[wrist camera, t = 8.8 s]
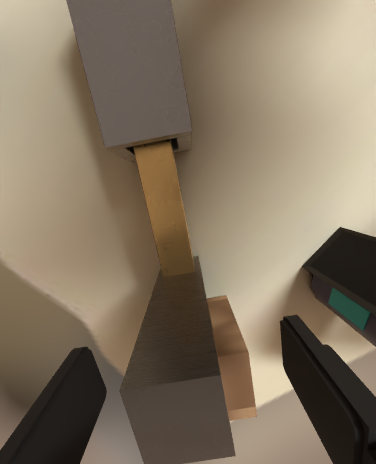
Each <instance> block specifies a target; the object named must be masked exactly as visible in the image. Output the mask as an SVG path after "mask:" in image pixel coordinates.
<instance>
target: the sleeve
mask: <svg viewBox="0 0 376 464" xmlns="http://www.w3.org/2000/svg"><path fill="white" fill-rule="evenodd" d="M67 4H68V8H69V12H70V16H71V20H72V23H73V27H74V31H75V35H76V39H77V42H78V46H79V50H80V54H81V58H82V61H83V65H84V69H85V73H86V77H87V81H88V84H89V88H90V92H91V96H92V100H93V103H94V107H95V111H96V115H97V119H98V123H99V126H100V130H101V134H102V138H103V142H104V145H105V148H107V149H108V150H110V151H112V152H114V153H115V154H117V155H119V156H121V157H123V158H124V159H126V160H128V161H134V160H136V156H135V152H134V147H133V146H136V145H141V144H146V143H151V142H157V141H162V140H167V139H171V142H172V148H173V153H175V152H180V151H185V150H190V146H191V136H192V128H191V121H190V115H189V109H188V103H187V97H186V91H185V85H184V78H183V72H182V66H181V60H180V54H179V48H178V42H177V36H176V29H175V23H174V17H173V11H172V5H171V0H67Z"/></svg>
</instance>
